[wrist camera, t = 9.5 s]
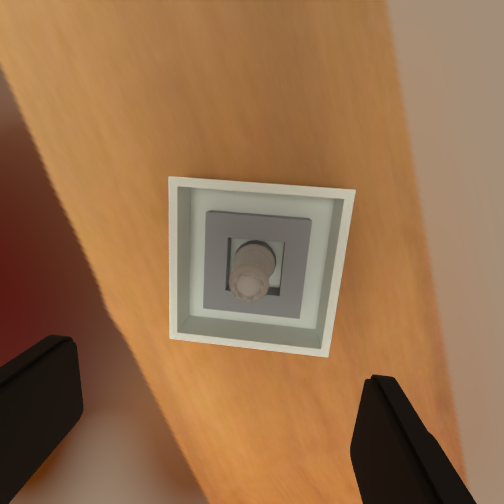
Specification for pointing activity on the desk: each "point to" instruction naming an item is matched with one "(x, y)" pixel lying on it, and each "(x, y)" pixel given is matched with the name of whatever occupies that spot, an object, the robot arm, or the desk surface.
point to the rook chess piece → (252, 271)
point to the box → (286, 271)
